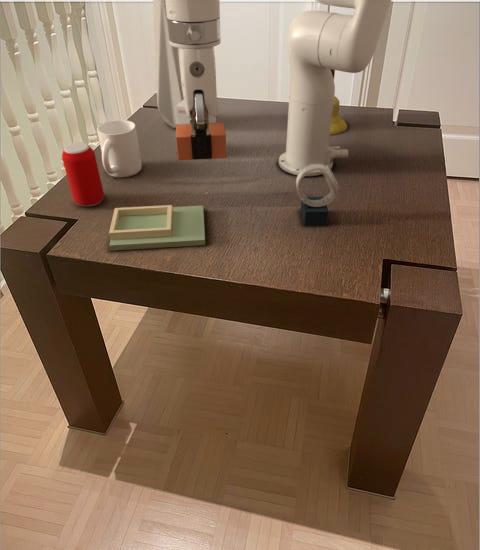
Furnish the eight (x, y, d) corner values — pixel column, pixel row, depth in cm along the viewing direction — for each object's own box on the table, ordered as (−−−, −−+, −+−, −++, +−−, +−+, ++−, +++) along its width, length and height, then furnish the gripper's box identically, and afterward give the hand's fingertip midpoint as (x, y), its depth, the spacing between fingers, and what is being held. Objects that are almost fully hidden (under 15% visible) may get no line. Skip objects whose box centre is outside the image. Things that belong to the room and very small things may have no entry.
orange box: (223, 144, 80) (223, 122, 78) (226, 158, 76) (225, 134, 73) (178, 146, 79) (176, 124, 77) (178, 160, 75) (175, 137, 73)
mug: (125, 188, 99) (117, 143, 93) (91, 184, 101) (80, 139, 94) (147, 164, 108) (141, 121, 102) (116, 160, 110) (107, 118, 103)
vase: (201, 131, 123) (192, -11, 102) (159, 132, 123) (141, -11, 102) (205, 115, 132) (197, -19, 111) (165, 115, 133) (150, -18, 112)
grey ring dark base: (336, 225, 87) (344, 172, 80) (295, 226, 87) (299, 173, 80) (331, 209, 92) (338, 158, 85) (291, 210, 92) (295, 159, 85)
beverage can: (85, 212, 92) (70, 156, 84) (69, 202, 95) (53, 147, 87) (111, 201, 95) (99, 146, 88) (94, 191, 98) (81, 137, 91)
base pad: (203, 210, 92) (202, 198, 90) (205, 245, 83) (204, 232, 81) (118, 215, 91) (115, 203, 89) (110, 250, 82) (107, 238, 80)
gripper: (224, 45, 60) (227, 172, 71) (216, 19, 73) (220, 130, 84) (167, 47, 59) (179, 174, 70) (169, 20, 72) (179, 131, 84)
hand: (201, 149), depth 77 cm, fingers closed on orange box, 5 cm apart
